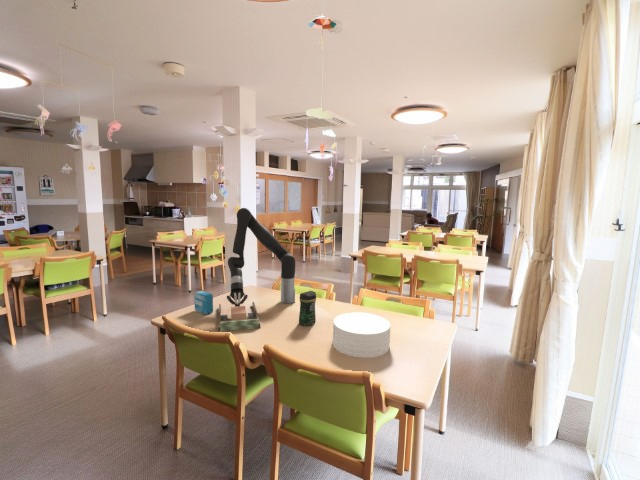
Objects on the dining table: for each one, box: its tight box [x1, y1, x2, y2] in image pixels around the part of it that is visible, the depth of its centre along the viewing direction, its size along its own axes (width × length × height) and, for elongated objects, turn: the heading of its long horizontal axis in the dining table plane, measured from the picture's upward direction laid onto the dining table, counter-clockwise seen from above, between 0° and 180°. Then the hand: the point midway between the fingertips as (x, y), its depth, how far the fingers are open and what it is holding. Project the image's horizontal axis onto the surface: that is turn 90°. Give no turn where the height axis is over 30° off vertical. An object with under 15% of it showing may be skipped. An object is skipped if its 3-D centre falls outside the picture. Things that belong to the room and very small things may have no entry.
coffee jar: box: [298, 290, 317, 326], centre depth 186 cm, size 10×8×19 cm
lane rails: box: [217, 301, 261, 332], centre depth 193 cm, size 22×38×5 cm, turn 16°
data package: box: [193, 290, 214, 315], centre depth 201 cm, size 12×4×12 cm, turn 57°
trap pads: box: [221, 312, 256, 321], centre depth 195 cm, size 20×8×1 cm, turn 107°
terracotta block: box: [230, 305, 247, 321], centre depth 187 cm, size 8×12×7 cm, turn 16°
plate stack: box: [332, 311, 391, 359], centre depth 162 cm, size 28×28×12 cm
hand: (237, 310), depth 193 cm, fingers closed
